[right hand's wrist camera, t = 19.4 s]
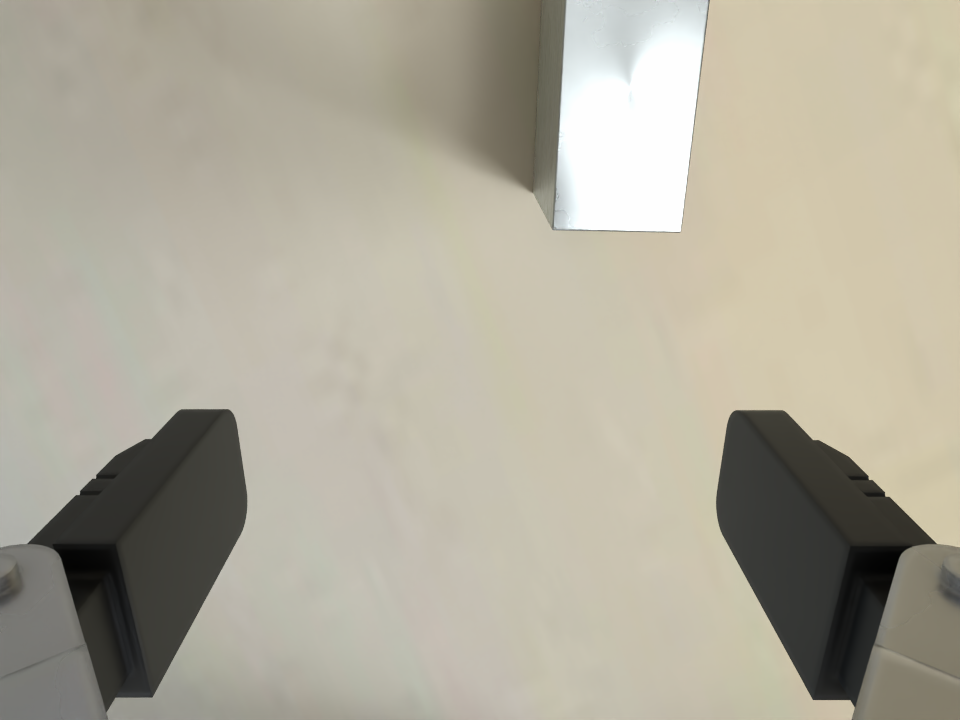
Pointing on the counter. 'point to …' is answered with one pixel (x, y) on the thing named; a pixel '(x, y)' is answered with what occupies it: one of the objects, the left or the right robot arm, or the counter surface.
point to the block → (617, 112)
